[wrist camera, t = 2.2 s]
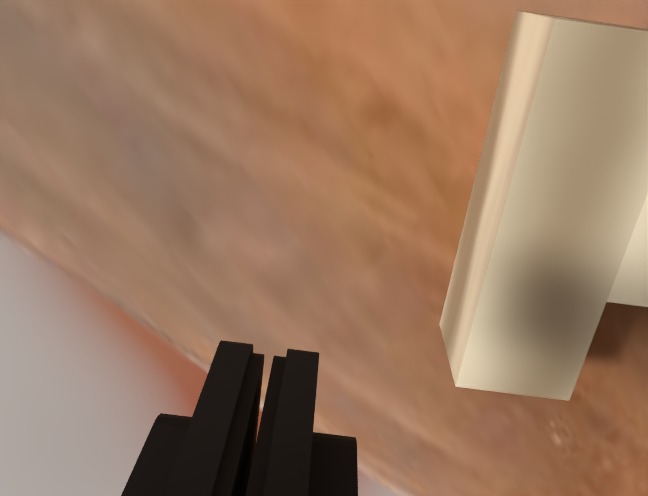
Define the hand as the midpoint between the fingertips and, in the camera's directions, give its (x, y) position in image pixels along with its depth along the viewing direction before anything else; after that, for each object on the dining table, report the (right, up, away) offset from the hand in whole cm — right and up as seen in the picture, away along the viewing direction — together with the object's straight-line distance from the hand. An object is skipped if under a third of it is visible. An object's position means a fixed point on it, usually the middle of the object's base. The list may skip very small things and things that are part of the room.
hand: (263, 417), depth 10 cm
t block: (+12, +4, +11) cm, 18 cm away
